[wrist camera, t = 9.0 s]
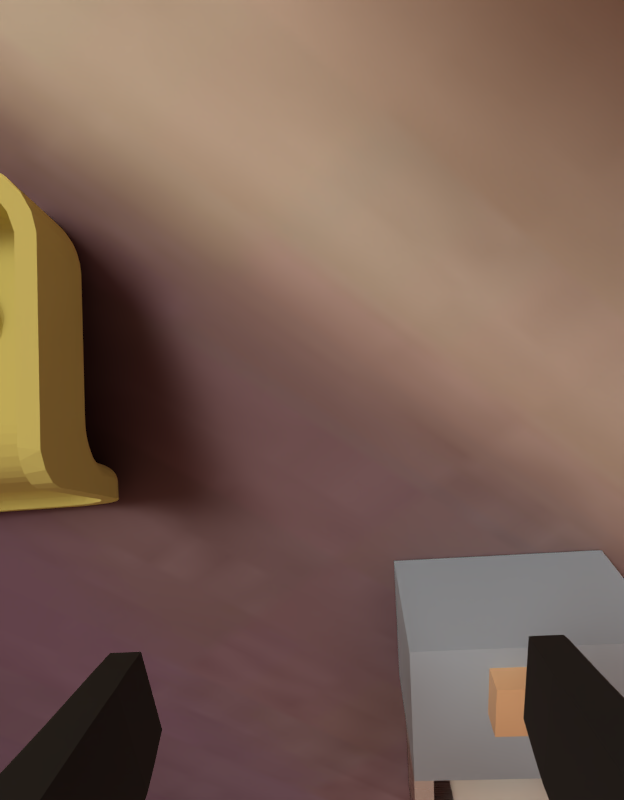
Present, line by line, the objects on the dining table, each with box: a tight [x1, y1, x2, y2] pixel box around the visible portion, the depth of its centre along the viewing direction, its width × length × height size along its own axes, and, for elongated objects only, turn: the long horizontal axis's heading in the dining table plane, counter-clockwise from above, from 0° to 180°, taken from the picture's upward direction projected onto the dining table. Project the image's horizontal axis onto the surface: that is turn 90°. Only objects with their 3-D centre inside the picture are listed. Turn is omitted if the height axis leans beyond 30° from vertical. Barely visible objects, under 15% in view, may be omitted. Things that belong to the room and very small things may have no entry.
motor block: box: [394, 550, 624, 781], centre depth 19 cm, size 8×6×5 cm
